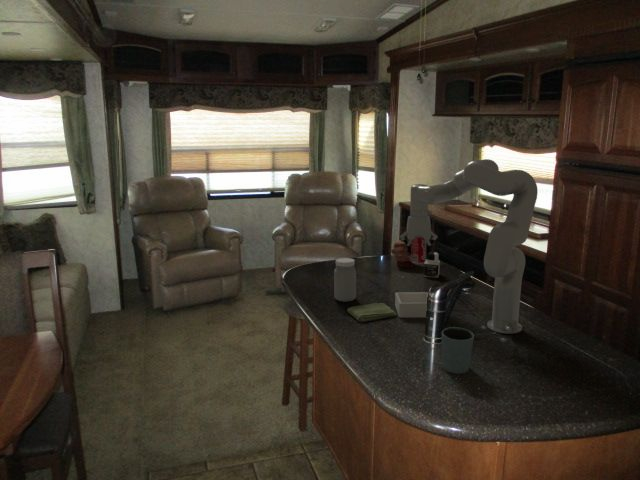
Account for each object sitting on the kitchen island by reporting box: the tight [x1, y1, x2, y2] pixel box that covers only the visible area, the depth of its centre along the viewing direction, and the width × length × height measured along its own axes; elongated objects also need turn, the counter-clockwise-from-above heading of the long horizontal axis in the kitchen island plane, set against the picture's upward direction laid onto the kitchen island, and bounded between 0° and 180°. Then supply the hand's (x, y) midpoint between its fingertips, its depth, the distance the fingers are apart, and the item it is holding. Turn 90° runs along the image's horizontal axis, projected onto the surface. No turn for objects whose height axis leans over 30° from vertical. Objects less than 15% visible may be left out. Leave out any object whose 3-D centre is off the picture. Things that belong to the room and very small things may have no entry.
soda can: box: [410, 237, 427, 265], centre depth 230 cm, size 7×7×12 cm
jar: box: [333, 257, 357, 303], centre depth 236 cm, size 10×10×18 cm
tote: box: [394, 291, 429, 318], centre depth 221 cm, size 14×14×6 cm
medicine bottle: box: [423, 251, 441, 279], centre depth 270 cm, size 7×7×12 cm
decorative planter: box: [390, 238, 416, 269], centre depth 289 cm, size 20×12×14 cm, turn 105°
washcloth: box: [346, 302, 398, 323], centre depth 219 cm, size 13×18×3 cm
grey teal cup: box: [441, 326, 475, 375], centre depth 171 cm, size 10×10×12 cm
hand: (418, 254), depth 230 cm, fingers closed on soda can, 6 cm apart
